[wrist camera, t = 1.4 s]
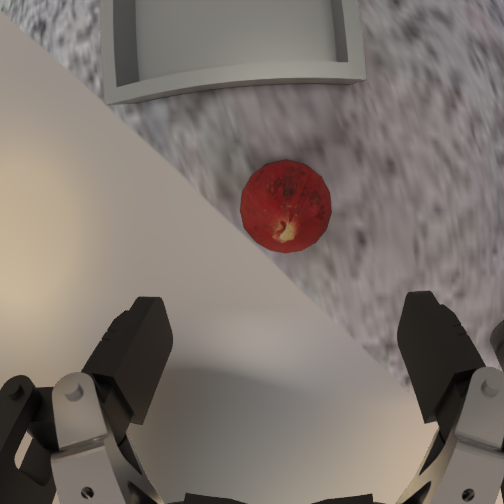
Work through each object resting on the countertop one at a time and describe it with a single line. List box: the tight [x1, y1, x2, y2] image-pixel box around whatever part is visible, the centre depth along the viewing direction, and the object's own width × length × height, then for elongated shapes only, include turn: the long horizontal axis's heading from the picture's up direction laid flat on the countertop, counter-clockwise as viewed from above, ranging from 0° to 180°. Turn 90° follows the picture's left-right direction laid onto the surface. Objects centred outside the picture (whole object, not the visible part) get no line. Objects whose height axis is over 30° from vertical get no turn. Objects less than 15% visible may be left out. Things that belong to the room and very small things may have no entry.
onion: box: [240, 160, 332, 253], centre depth 19 cm, size 6×6×8 cm
